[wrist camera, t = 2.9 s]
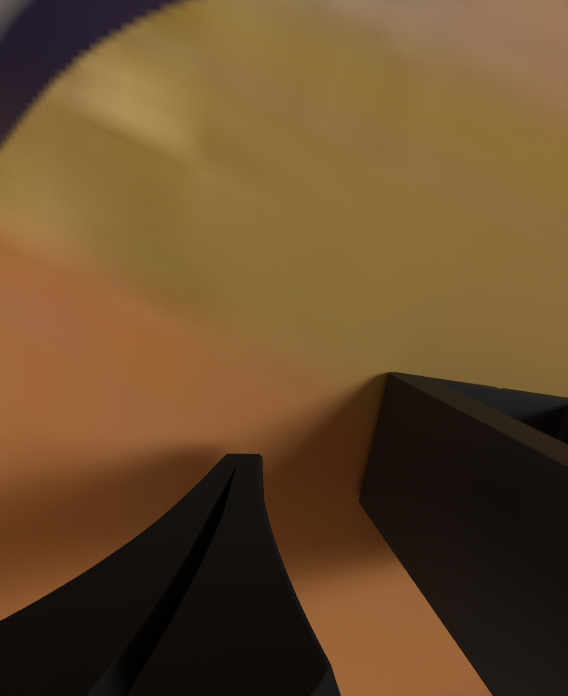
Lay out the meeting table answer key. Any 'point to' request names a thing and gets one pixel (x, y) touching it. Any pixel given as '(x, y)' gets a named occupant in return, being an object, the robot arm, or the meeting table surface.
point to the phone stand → (480, 520)
